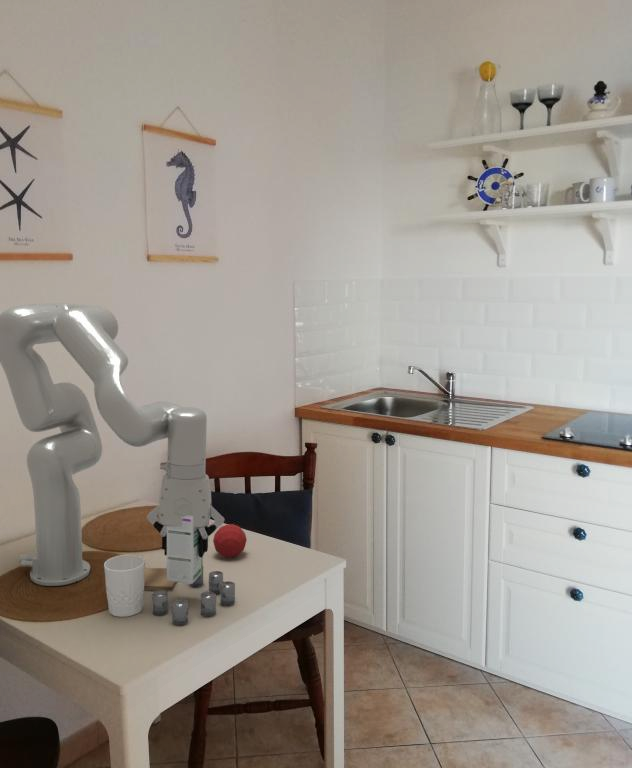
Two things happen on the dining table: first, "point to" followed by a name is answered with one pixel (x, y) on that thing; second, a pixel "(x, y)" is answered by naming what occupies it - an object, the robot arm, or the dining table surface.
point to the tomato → (229, 540)
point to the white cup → (125, 584)
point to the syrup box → (183, 552)
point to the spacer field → (206, 599)
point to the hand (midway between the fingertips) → (184, 552)
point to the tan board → (157, 580)
